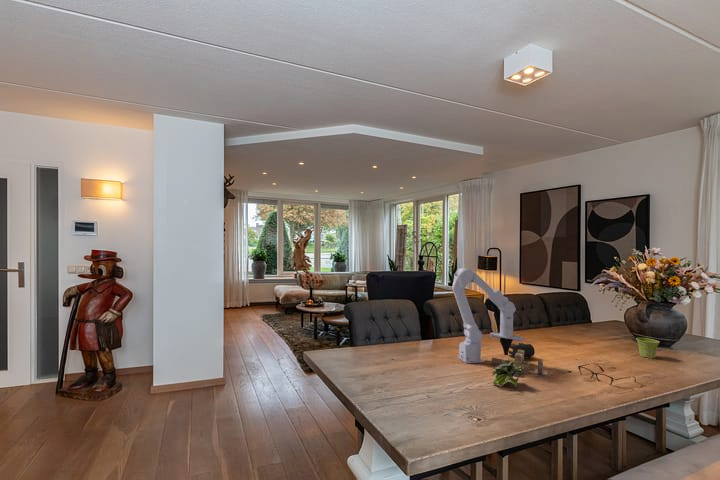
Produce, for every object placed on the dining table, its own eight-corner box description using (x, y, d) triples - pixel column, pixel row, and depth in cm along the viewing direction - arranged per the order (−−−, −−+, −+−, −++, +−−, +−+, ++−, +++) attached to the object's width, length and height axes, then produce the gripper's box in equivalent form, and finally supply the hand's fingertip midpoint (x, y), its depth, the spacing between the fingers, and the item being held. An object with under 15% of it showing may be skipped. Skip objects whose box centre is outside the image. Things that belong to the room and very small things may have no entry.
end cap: (518, 360, 166) (518, 346, 166) (507, 356, 172) (507, 342, 172) (534, 359, 168) (535, 345, 169) (523, 355, 175) (524, 341, 175)
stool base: (545, 382, 138) (545, 368, 138) (487, 370, 150) (487, 358, 150) (548, 367, 157) (548, 355, 157) (496, 357, 169) (496, 346, 169)
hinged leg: (520, 369, 152) (521, 355, 152) (514, 367, 154) (514, 354, 154) (524, 361, 164) (524, 348, 164) (518, 360, 165) (518, 347, 165)
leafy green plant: (503, 395, 138) (515, 368, 142) (523, 401, 128) (535, 372, 132) (482, 379, 137) (494, 353, 141) (500, 385, 126) (513, 356, 130)
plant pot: (664, 360, 173) (664, 342, 174) (645, 359, 174) (645, 342, 174) (649, 354, 183) (649, 338, 183) (631, 353, 183) (631, 337, 183)
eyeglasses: (575, 373, 150) (575, 364, 151) (600, 370, 156) (600, 361, 156) (614, 388, 135) (614, 378, 135) (640, 384, 141) (640, 374, 141)
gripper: (524, 326, 164) (523, 355, 163) (492, 322, 171) (491, 349, 171) (522, 329, 158) (522, 359, 157) (489, 324, 165) (488, 353, 165)
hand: (506, 354), depth 164 cm, fingers closed
